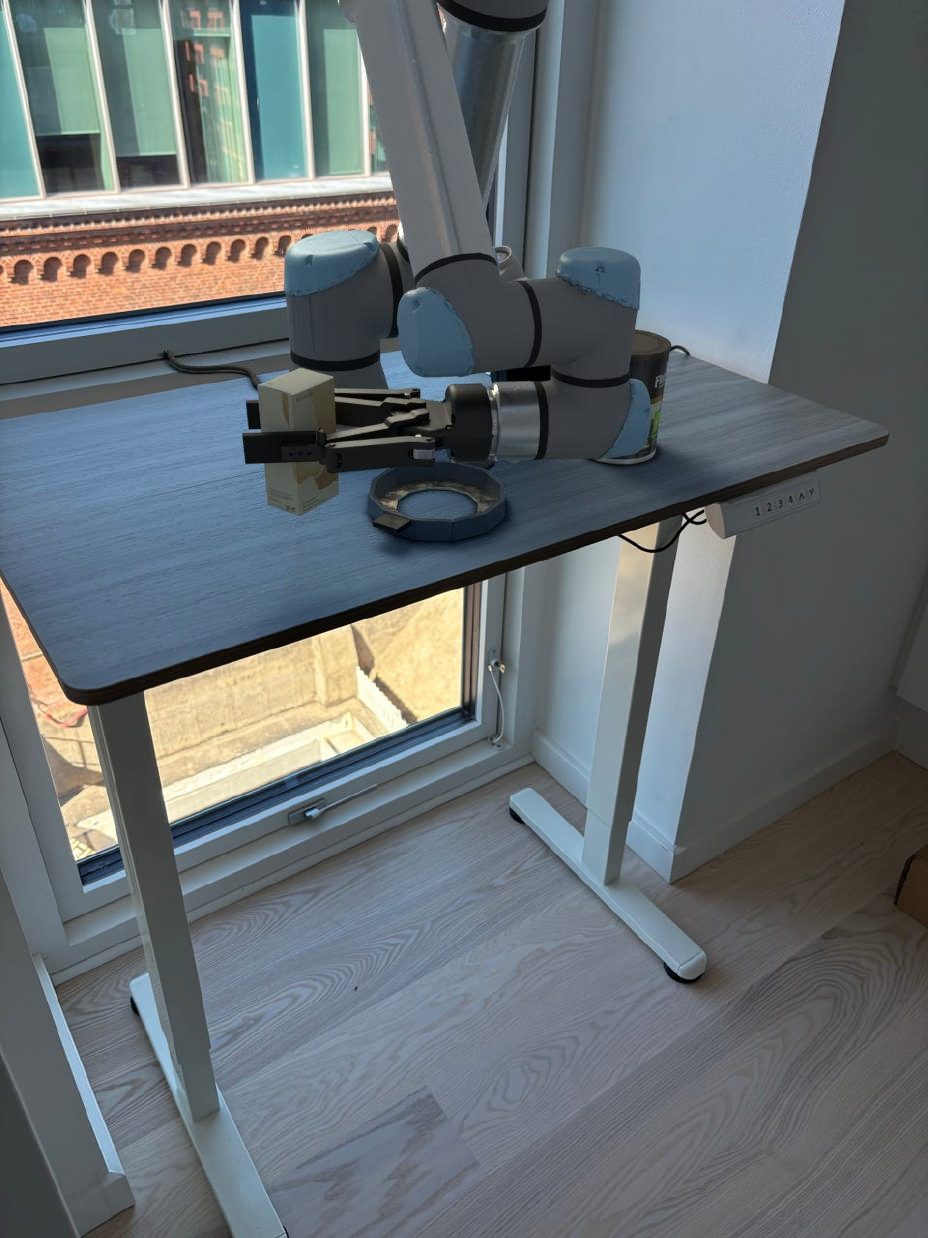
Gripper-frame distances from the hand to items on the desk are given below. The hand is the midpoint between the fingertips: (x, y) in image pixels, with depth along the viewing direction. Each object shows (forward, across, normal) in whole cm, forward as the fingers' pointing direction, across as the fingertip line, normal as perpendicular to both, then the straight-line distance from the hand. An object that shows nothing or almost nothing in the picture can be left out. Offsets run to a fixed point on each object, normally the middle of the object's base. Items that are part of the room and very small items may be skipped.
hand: (246, 431), depth 90 cm
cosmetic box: (-5, 0, -8) cm, 9 cm away
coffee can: (-45, +26, -15) cm, 53 cm away
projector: (-33, +66, -15) cm, 76 cm away
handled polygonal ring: (-20, +11, -15) cm, 27 cm away
